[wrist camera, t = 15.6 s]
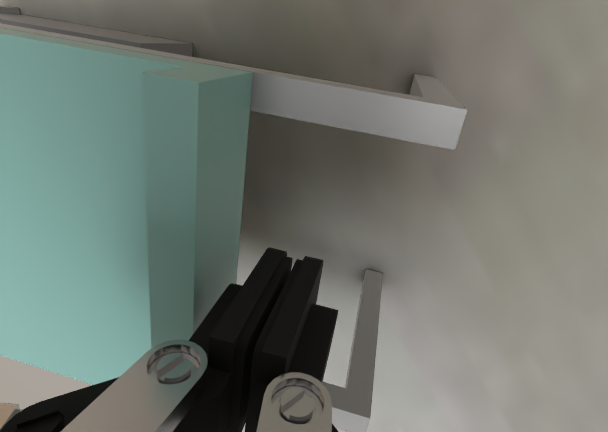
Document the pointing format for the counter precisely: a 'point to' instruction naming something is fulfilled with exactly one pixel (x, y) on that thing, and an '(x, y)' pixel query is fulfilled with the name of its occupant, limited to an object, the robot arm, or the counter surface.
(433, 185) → the counter surface
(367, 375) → the housing
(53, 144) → the lid
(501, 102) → the counter surface
